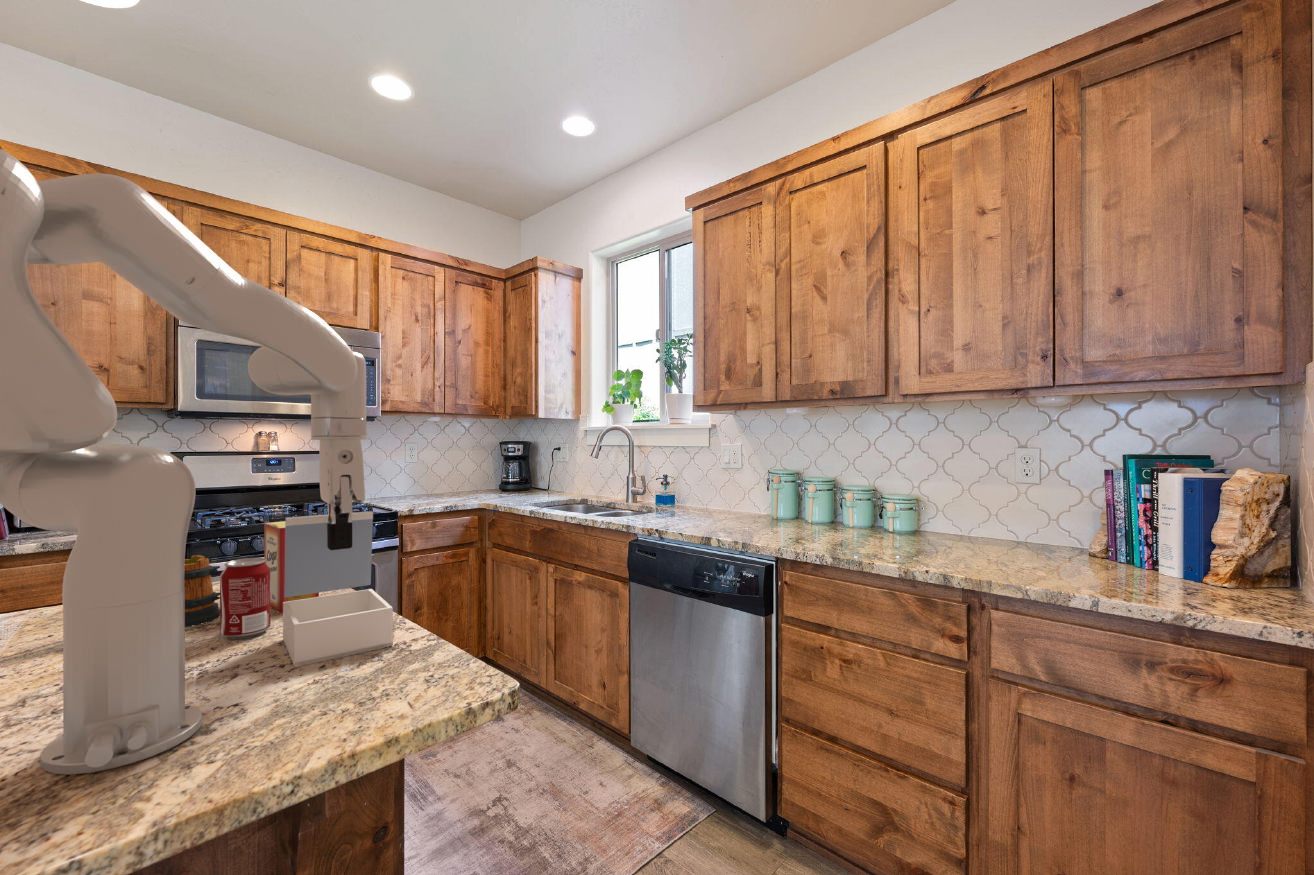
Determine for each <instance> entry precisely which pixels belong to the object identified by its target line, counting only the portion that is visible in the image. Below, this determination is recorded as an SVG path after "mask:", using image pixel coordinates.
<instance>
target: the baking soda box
mask: <svg viewBox="0 0 1314 875" xmlns="http://www.w3.org/2000/svg"><path fill="white" fill-rule="evenodd" d="M263 525H264V526H263V527H264V528H263V529H264V530H263V531H264V532H263V535H264V536H263V538H264V539H263V542H264V543H263V549H264V550H263V555H264V557H263V558H264V559H266V562H265V563H266V565H267V566H268V567H269V568H270V608H271V607H272V608H271V609H273V610H274V609H275V611H276V612H277V611H278V613H279V614H283V602H288V601H295V600H301V599H308V598H314V597H320V596H319V595H320V592H319V593H312V594H306V595H299V596H292V597H284V583H285V520H284V521H274V522H266V523H265V522H264V524H263Z"/></svg>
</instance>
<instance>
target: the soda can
mask: <svg viewBox="0 0 1314 875" xmlns="http://www.w3.org/2000/svg"><path fill="white" fill-rule="evenodd" d="M265 562H266V559H264V557H249V558H248V557H246V558H239V559H233V560H230V561H226V562H225V563H224V566H225V567H224V569H222V571H221V573H220V574H219V592H220V595H219V597H220V599H219V608H220V617H219V635H220V636H221V637H224V638H227V639H229V640H243V639H249V638H253V637H257V636H260V635H262V634H263V633H264V632H265V631H267V630H268V629H269V628H271V607H270V568H269V567H268V566H267V565H266V563H265Z"/></svg>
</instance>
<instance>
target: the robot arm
mask: <svg viewBox="0 0 1314 875" xmlns="http://www.w3.org/2000/svg"><path fill="white" fill-rule="evenodd" d="M90 263H101V264H103V265H104V266H106V267H108V268H109V269H110V270H111V271H113V272H114V273H115V274H117V275H119V277H121V278H123V279H124V280H125V281H126V282H128V283H129V284H130V285H132V286H133V287H135V288H136V289H137V290H139V291H140V292H141V293H143V294H144V295H145V296H147V297H148V298H150V299H151V300H153V301H154V302H155V303H156V304H157V305H158V306H160V307H161V308H163V309H164V310H165V311H167V312H168V313H169V314H170V315H172V316H173V317H174V318H175V319H177V320H179V321H181V322H182V323H184V324H187V325H189V326H191V327H192V326H193V327H196V328H199V329H200V330H203V331H207V332H211V333H215V334H218V335H219V334H220V335H225V336H229V337H233V338H237V339H242V340H245V341H250V342H252V343H255V344H258V345H261V347H258V348H257V349H256V350H255V351H254V352H253V353H252V354H251V355H250V357H249V359H248V362H247V372H248V375H249V377H250V379H251V381H252V382H253V383H254V384H255V385H256V386H257V387H258V388H260V389H262V390H263V391H264V392H267V393H270V394H274V395H279V396H303V395H310V397H311V399H310V436H311V439H310V440H311V441H319V452H318V453H319V460H318V461H319V467H318V468H319V473H318V474H319V491H320V492H319V494H320V499H321V500H322V501H323V502H325V503H327V515H328V523H327V547H328V548H329V549H330V550H340V549H348V548H351V547H352V513H353V502H355V503H357V504H363V503H364V502H365V501H366V492H365V491H366V490H365V487H366V486H365V472H364V471H365V469H364V468H365V467H364V455H363V452H364V451H363V445H362V440H363V441H365V440H367V362H366V359H365V357H364V355H363V354H362V353H359V352H357V351H354V350H352V349H351V347H350V346H349V345H348V344H347V342H346V341H345V340H344V339H343V338H341V336H340V335H339V334H338V332H336V331H335V330H334V329H333V328H332V327H331V326H329V324H328V323H327V322H326V321H325V320H323V319H322V318H321V317H320V316H318V315H317V314H316V313H315V312H313V311H311V310H310V309H308V308H306V306H303V305H301V304H300V303H299V302H296V301H294V300H292V299H291V298H288V297H286V296H285V295H282V294H280V293H278V292H276V291H274V290H272V289H270V288H268V287H266V286H264V285H262V284H260V283H258V282H256V281H253V280H251V279H249V278H247V277H244V276H243V275H242V274H240V273H238V272H237V271H236V270H234V268H232V267H231V266H230V265H229V264H227V262H226V261H224V260H223V259H222V258H221V257H220V256H219V255H218V254H217V253H216V252H215V251H213V249H211V248H210V247H209V246H208V245H206V243H205V242H204V241H202V240H201V239H200V238H199V237H198V236H197V235H196V234H195V233H193V232H192V231H191V230H190V229H189V228H188V227H187V226H186V225H185V224H183V223H182V222H181V221H180V220H179V219H178V218H177V217H176V216H175V215H174V214H172V212H170V211H169V210H168V209H167V208H166V207H165V206H164V205H163V204H161V203H160V202H159V201H158V199H156V198H154V196H152V195H151V194H150V193H149V192H148V191H147V190H146V189H144V188H142V187H141V186H140V185H138V184H137V183H135V182H133V181H132V180H130V179H127V178H126V177H122V176H119V175H115V174H110V173H98V172H97V173H81V174H77V175H76V174H75V175H70V176H69V175H68V176H63V177H57V178H51V179H44V180H37V179H36V178H35V176H34V175H33V174H32V172H31V171H30V170H29V169H28V168H27V166H26V165H24V164H23V163H22V162H21V161H20V160H19V159H17V157H15V156H13V155H11V154H10V153H9V152H7V151H6V150H3V149H2V148H0V505H1V506H2V507H3V508H4V509H6V510H7V511H8V512H9V513H11V514H12V515H13V516H15V517H16V518H18V519H19V520H21V521H22V522H24V523H26V524H28V525H30V526H32V527H34V528H38V529H42V530H45V531H53V532H58V533H59V532H60V533H61V532H63V533H77V535H76V539H75V541H74V545H73V547H72V549H71V551H70V554H69V556H68V559H67V561H66V562H67V563H66V565H65V567H64V568H65V569H64V574H63V577H62V580H63V581H62V590H61V591H62V592H61V593H62V594H61V595H62V598H61V599H62V602H61V603H62V613H63V614H62V621H63V622H62V626H63V629H62V632H63V634H62V635H63V638H62V639H63V640H62V647H63V648H62V649H63V650H62V652H63V653H62V654H63V655H62V660H63V661H62V662H63V663H62V664H63V666H62V669H63V672H62V673H63V674H62V675H63V676H62V677H63V678H62V680H63V681H62V683H63V684H62V685H63V686H62V689H63V691H62V692H63V693H62V694H63V696H62V699H63V702H62V703H63V704H62V705H63V706H62V708H63V709H62V710H63V711H62V712H63V714H62V715H63V722H62V723H63V725H62V726H63V728H62V729H63V731H62V734H60V735H59V736H57V737H56V738H54V739H53V740H52V741H50V742H48V744H47V745H46V746H45V747H44V748H43V749H42V751H41V753H40V766H41V768H42V769H43V770H45V771H47V772H48V773H50V774H51V773H52V774H56V775H57V774H58V775H79V774H80V775H81V774H82V775H83V774H90V773H96V772H101V771H106V770H111V769H115V768H119V767H122V766H123V767H124V766H127V765H130V764H134V763H136V762H139V761H142V760H146V759H148V758H151V757H153V756H156V755H158V754H162V753H164V752H166V751H167V750H169V749H172V748H174V747H176V746H178V745H179V744H181V743H183V742H184V741H185V742H186V740H188V739H189V738H191V737H192V736H193V735H194V734H196V732H197V731H199V729H200V728H201V727H202V724H203V711H202V709H201V708H199V707H198V706H196V705H192V704H186V664H185V663H186V651H185V650H186V649H185V648H186V627H185V588H184V570H185V569H184V568H185V559H186V558H185V557H186V544H187V539H188V533H189V528H190V523H191V519H192V515H193V511H194V508H195V502H196V482H195V479H194V477H193V476H194V475H193V474H192V472H191V469H189V467H188V466H187V464H185V462H183V461H182V459H180V458H178V457H177V456H176V455H174V454H173V453H170V452H168V451H166V450H163V449H160V448H155V447H151V446H145V445H135V444H133V445H131V444H98V445H96V444H97V443H100V442H101V441H102V440H104V439H105V438H106V437H108V436H109V435H110V433H112V431H113V430H114V428H115V427H116V424H117V420H118V408H117V405H116V402H115V400H114V397H113V396H112V394H111V392H110V391H109V389H108V388H107V387H106V385H105V384H104V383H103V382H102V380H101V379H100V378H99V377H98V375H96V372H94V371H93V369H92V368H91V367H90V366H89V365H88V363H87V362H86V361H85V360H84V358H82V356H81V354H80V353H78V351H77V350H76V349H75V347H74V346H73V345H72V344H71V343H70V341H69V340H68V339H67V337H66V336H65V335H64V334H63V333H62V332H61V331H60V329H59V328H58V327H57V326H56V325H55V322H53V320H52V318H50V317H49V315H48V314H47V312H46V311H45V309H44V308H43V307H42V305H41V304H40V302H39V301H38V298H37V297H36V295H35V294H34V291H33V289H32V287H31V284H30V280H29V276H28V265H63V266H64V265H66V266H67V265H71V266H72V265H80V264H81V265H82V264H90Z"/></svg>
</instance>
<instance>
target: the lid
mask: <svg viewBox="0 0 1314 875" xmlns="http://www.w3.org/2000/svg"><path fill="white" fill-rule="evenodd" d="M373 520H374V511H359V512H357V511H356V512H352V547H351V548H348V549H340V550H330V549H329V548H328V547H327V523H328V514H319V515H306V516H294V517H293V516H292V517H291V516H290V517H285V520H284V521H285V583H284V597H292V596H299V595H306V594H312V593H319V594H320V593H324V592H331V591H339V590H345V589H352V588H357V587H365V586H371V584H372V583H371V582H372V558H373V557H372V556H373V554H372V552H373V527H374V525H373V522H374V521H373Z"/></svg>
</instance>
